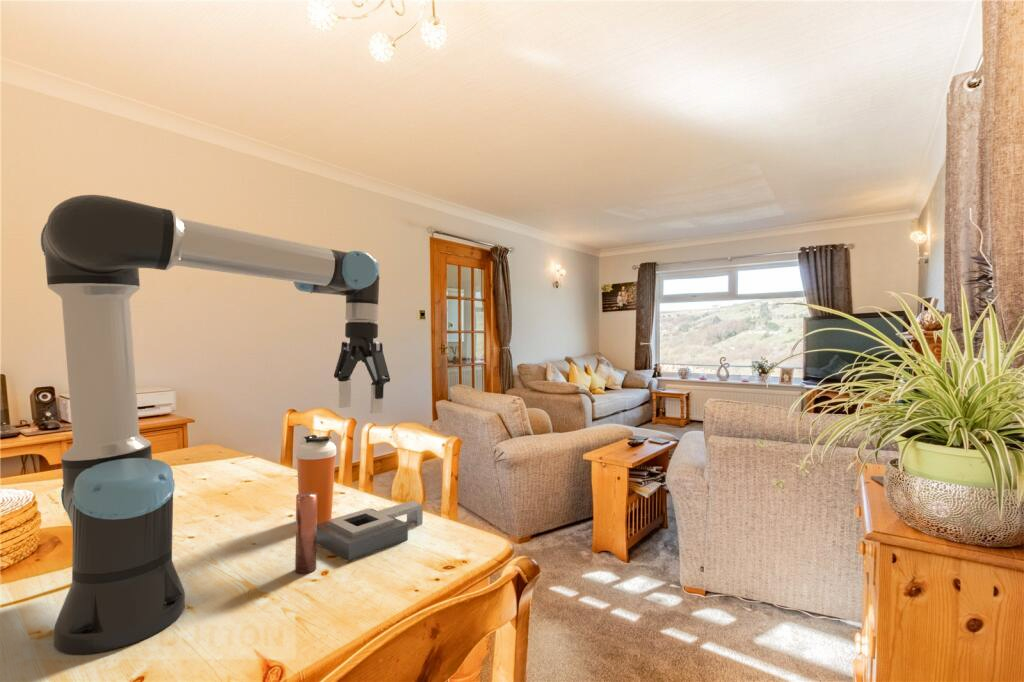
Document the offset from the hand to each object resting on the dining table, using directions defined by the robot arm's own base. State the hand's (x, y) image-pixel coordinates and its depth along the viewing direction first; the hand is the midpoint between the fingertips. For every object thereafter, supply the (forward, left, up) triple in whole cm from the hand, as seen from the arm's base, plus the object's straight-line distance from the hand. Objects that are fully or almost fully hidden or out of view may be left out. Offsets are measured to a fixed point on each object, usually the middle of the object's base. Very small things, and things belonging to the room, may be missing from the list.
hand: (359, 410), depth 114 cm
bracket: (-1, -11, -26) cm, 29 cm away
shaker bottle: (-7, +7, -27) cm, 28 cm away
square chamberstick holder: (-6, -11, -26) cm, 29 cm away
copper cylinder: (-20, -15, -26) cm, 37 cm away
